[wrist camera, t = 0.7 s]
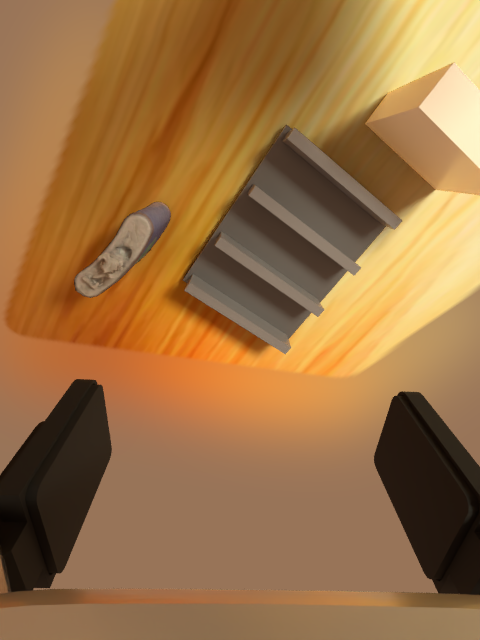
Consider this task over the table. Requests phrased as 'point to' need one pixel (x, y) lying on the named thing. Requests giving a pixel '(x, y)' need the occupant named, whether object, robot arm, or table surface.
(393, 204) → the table surface
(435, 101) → the beige square block
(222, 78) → the table surface
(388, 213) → the rack
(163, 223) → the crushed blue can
